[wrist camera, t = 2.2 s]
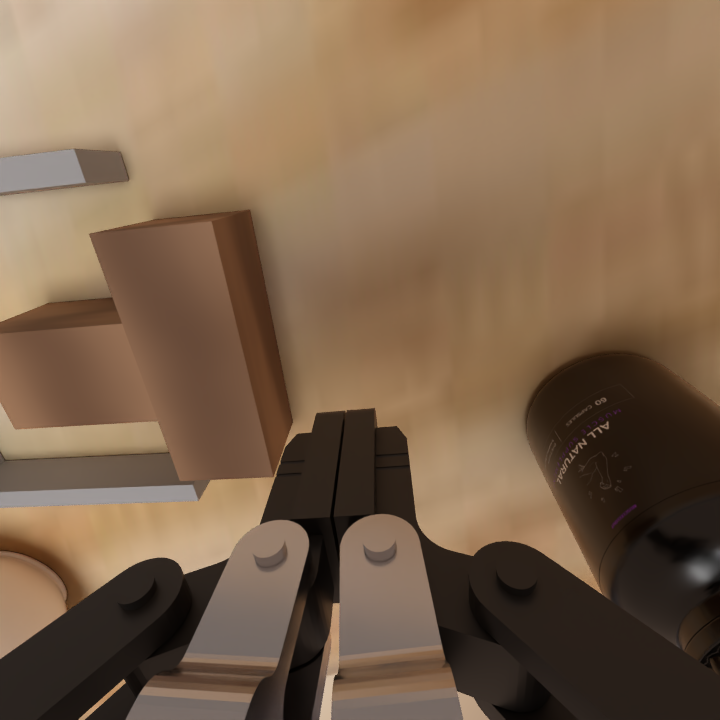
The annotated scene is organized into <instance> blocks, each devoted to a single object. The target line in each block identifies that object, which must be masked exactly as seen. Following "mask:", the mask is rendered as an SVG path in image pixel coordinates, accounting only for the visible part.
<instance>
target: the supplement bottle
mask: <svg viewBox="0 0 720 720" xmlns="http://www.w3.org/2000/svg"><path fill="white" fill-rule="evenodd" d="M527 437H528V441H529V444H530V447H531V450H532V452H533V454H534V456H535V458H536V460H537V462H538V465H539V467H540V469H541V471H542V473H543V475H544V477H545V479H546V481H547V483H548V485H549V487H550V489H551V491H552V493H553V495H554V497H555V499H556V501H557V503H558V505H559V507H560V509H561V511H562V513H563V515H564V517H565V519H566V521H567V523H568V525H569V527H570V529H571V531H572V533H573V535H574V537H575V539H576V541H577V543H578V545H579V547H580V549H581V551H582V553H583V555H584V557H585V559H586V561H587V563H588V565H589V567H590V569H591V571H592V573H593V575H594V578H595V580H596V582H597V584H598V586H599V588H600V590H601V592H602V594H603V596H605V597H606V598H608V599H609V600H611V601H612V602H613V603H615V604H616V605H618V606H619V607H621V608H622V609H624V610H625V611H627V612H628V613H629V614H631V615H632V616H634V617H635V618H637V619H638V620H640V621H641V622H642V623H644V624H645V625H647V626H648V627H650V628H651V629H653V630H654V631H655V632H657V633H658V634H660V635H661V636H663V637H664V638H666V639H667V640H668V641H670V642H671V643H673V644H674V645H676V646H677V647H679V648H680V649H682V650H683V651H684V652H686V653H687V654H689V655H690V656H692V657H693V658H695V659H696V660H697V661H699V662H700V663H702V664H703V665H705V666H706V667H708V668H709V669H710V670H712V671H713V672H715V673H716V674H718V675H719V676H720V406H719V405H717V404H716V403H715V402H713V401H712V400H711V399H709V398H708V397H706V396H705V395H704V394H702V393H701V392H700V391H698V390H697V389H696V388H694V387H693V386H692V385H690V384H689V383H687V382H686V381H685V380H683V379H682V378H681V377H679V376H678V375H676V374H675V373H673V372H672V371H670V370H669V369H668V368H666V367H665V366H663V365H661V364H659V363H657V362H656V361H653V360H651V359H648V358H645V357H641V356H636V355H631V354H608V355H601V356H596V357H592V358H589V359H586V360H582V361H580V362H578V363H575V364H573V365H571V366H569V367H567V368H566V369H564V370H563V371H561V372H560V373H558V374H557V375H555V376H554V377H553V378H552V379H551V380H550V381H549V382H548V383H547V384H546V385H545V386H544V387H543V388H542V389H541V390H540V392H539V393H538V394H537V396H536V398H535V399H534V401H533V403H532V405H531V408H530V410H529V414H528V418H527Z"/></svg>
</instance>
